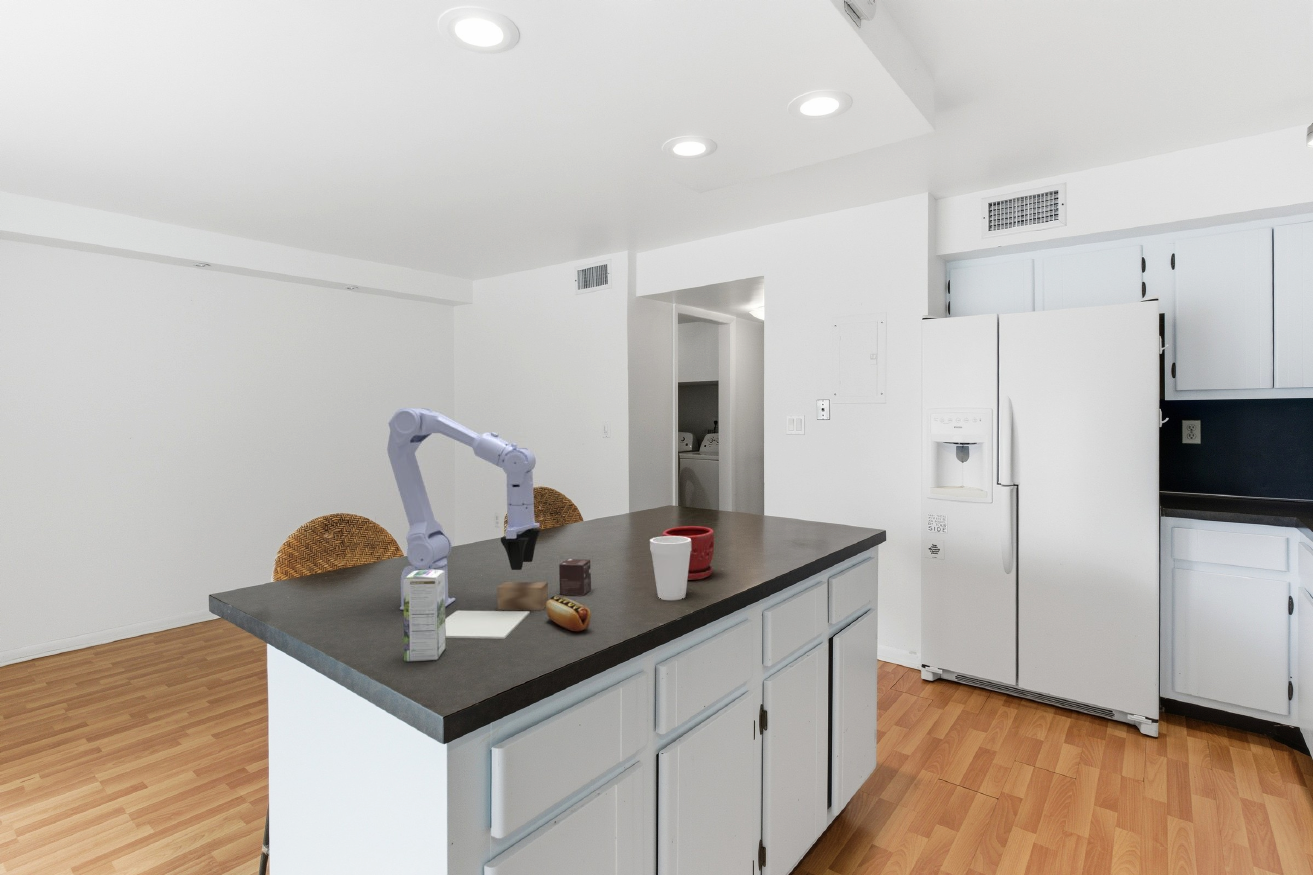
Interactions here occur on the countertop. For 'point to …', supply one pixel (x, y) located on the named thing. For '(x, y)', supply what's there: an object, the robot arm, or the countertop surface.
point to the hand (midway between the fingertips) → (522, 565)
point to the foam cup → (671, 565)
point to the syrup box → (424, 615)
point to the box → (575, 577)
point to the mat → (483, 624)
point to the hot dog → (568, 613)
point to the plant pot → (697, 549)
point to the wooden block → (522, 595)
